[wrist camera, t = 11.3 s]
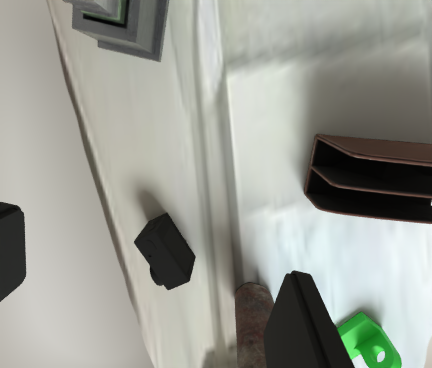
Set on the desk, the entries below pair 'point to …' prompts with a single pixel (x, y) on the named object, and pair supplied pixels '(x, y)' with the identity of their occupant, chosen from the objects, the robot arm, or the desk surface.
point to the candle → (252, 324)
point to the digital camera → (166, 252)
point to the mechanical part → (368, 342)
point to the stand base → (129, 29)
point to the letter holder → (371, 178)
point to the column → (102, 9)
